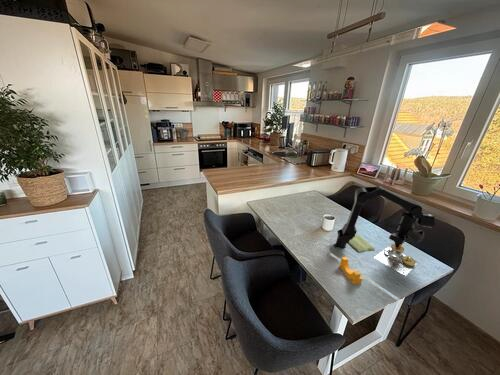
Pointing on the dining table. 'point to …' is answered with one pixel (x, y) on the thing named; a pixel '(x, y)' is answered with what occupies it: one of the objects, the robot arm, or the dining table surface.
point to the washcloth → (360, 244)
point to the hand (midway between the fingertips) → (398, 246)
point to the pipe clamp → (350, 271)
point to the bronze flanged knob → (399, 249)
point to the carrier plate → (396, 261)
